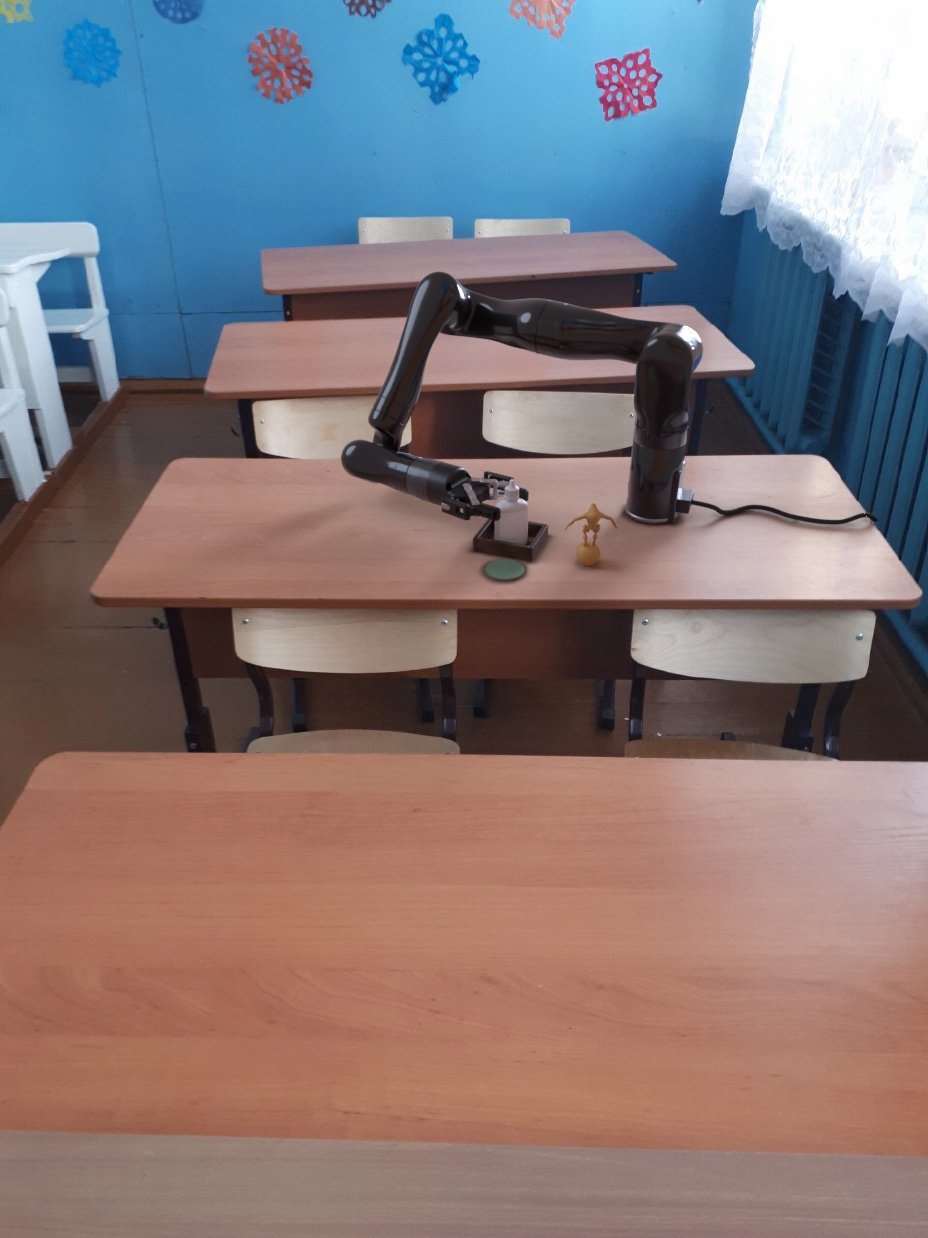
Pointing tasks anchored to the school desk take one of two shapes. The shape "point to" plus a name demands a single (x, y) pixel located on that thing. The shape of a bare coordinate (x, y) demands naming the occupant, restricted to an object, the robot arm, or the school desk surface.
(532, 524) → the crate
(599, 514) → the figurine
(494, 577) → the coaster
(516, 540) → the eye dropper bottle
